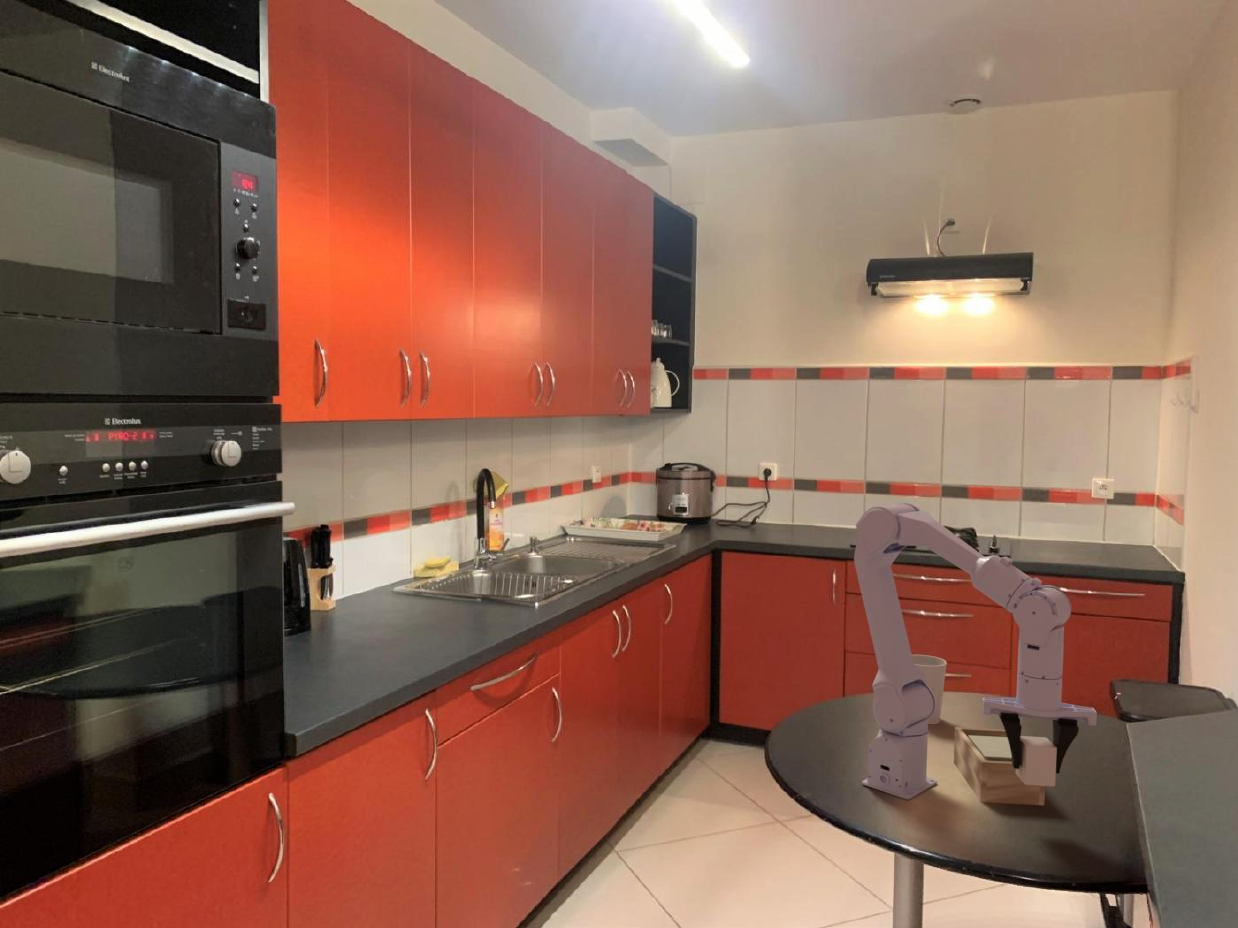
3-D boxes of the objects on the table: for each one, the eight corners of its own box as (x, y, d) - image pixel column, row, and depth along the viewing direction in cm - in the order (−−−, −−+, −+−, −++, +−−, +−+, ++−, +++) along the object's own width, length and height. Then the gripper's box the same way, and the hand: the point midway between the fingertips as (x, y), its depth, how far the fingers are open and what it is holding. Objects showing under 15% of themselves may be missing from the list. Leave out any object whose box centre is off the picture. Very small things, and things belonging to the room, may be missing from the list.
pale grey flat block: (1029, 782, 137) (1030, 758, 136) (983, 780, 137) (984, 755, 137) (1010, 760, 145) (1011, 736, 145) (967, 757, 146) (968, 734, 146)
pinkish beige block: (1055, 786, 124) (1056, 747, 124) (1025, 784, 125) (1026, 745, 124) (1044, 774, 128) (1046, 737, 128) (1015, 773, 129) (1017, 735, 128)
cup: (936, 715, 175) (939, 655, 174) (950, 730, 167) (952, 666, 166) (895, 714, 175) (897, 654, 174) (907, 728, 167) (909, 665, 166)
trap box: (1044, 807, 134) (1045, 765, 133) (980, 804, 135) (982, 762, 134) (1010, 768, 149) (1012, 729, 148) (953, 765, 150) (955, 727, 149)
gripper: (1090, 670, 127) (1085, 763, 128) (981, 661, 131) (977, 751, 132) (1102, 685, 121) (1097, 783, 121) (986, 674, 125) (982, 770, 125)
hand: (1035, 768), depth 126 cm, fingers closed on pinkish beige block, 4 cm apart
